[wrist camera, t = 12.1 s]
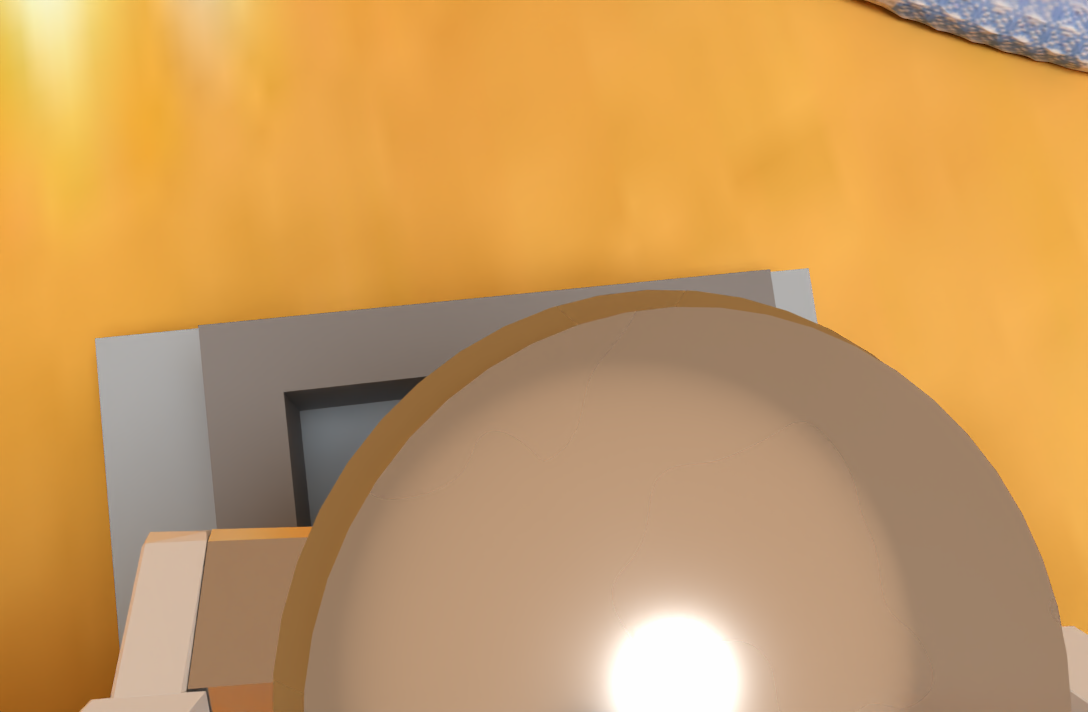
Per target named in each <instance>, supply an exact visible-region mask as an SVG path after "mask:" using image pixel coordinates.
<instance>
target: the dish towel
mask: <svg viewBox="0 0 1088 712" xmlns="http://www.w3.org/2000/svg"><path fill="white" fill-rule="evenodd" d="M865 1H868V2H871V3H874V4H877V5H880V6H883V7H884V8H886V9H888V10H890V11H891V12H893V13H895V14H897V15H898V16H900V17H902V18H905V19H910V20H915V21H918V22H920V23H923V24H926V25H928V26H930V27H932V28H934V29H936V30H939V31H945V32H949V33H952V34H955V35H957V36H960V37H963V38H965V39H967V40H969V41H972V42H976V43H982V44H986V45H989V46H991V47H994V48H996V49H999V50H1001V51H1004V52H1009V53H1014V54H1019V55H1024V56H1027V57H1029V58H1031V59H1033V60H1035V61H1044V62H1051V63H1054V64H1057V65H1060V66H1063V67H1066V68H1070V69H1074V70H1079V71H1083V72H1088V0H865Z"/></svg>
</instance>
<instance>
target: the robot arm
mask: <svg viewBox="0 0 1088 712" xmlns="http://www.w3.org/2000/svg"><path fill="white" fill-rule="evenodd" d="M311 529H312V527H279V528H240V529H212V530H202V531H165V532H150V533H149V535H148V537H147V538H146V540H145V542H144V544H143V546H142V548H141V553H140V558H139V562H138V567H137V572H136V577H135V581H134V586H133V591H132V596H131V601H130V605H129V610H128V615H127V620H126V625H125V629H124V634H123V639H122V644H121V648H120V653H119V658H118V663H117V668H116V672H115V677H114V682H113V687H112V692H111V696H110V698H100V699H91V700H90V701H89V702H88V703H87V704H86V705H85V706H84V707H83V708H82V709H81V710H80V711H79V712H273V672H274V666H275V659H276V652H277V645H278V639H279V632H280V625H281V619H282V614H283V611H284V607H285V604H286V600H287V597H288V593H289V589H290V586H291V582H292V579H293V575H294V572H295V568H296V565H297V561H298V559H299V557H300V554H301V552H302V550H303V547H304V545H305V543H306V540H307V538H308V536H309V533H310V531H311ZM1062 632H1063V637H1064V642H1065V647H1066V652H1067V659H1068V672H1069V684H1070V697H1071V712H1088V635H1087V634H1085V633H1084V632H1082V631H1081V630H1079V629H1077V628H1076V627H1074V626H1062Z"/></svg>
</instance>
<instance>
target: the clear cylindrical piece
mask: <svg viewBox="0 0 1088 712" xmlns="http://www.w3.org/2000/svg"><path fill="white" fill-rule="evenodd" d="M273 712H1071V697H1070V684H1069V672H1068V659H1067V652H1066V647H1065V642H1064V637H1063V632H1062V626H1061V621H1060V616H1059V611H1058V606H1057V603H1056V600H1055V597H1054V593H1053V590H1052V587H1051V584H1050V581H1049V578H1048V575H1047V572H1046V568H1045V565H1044V562H1043V559H1042V557H1041V554H1040V552H1039V550H1038V548H1037V546H1036V543H1035V541H1034V539H1033V537H1032V535H1031V532H1030V530H1029V528H1028V526H1027V523H1026V521H1025V519H1024V517H1023V515H1022V513H1021V511H1020V509H1019V508H1018V506H1017V504H1016V503H1015V501H1014V499H1013V498H1012V496H1011V494H1010V493H1009V491H1008V489H1007V488H1006V486H1005V484H1004V483H1003V481H1002V479H1001V478H1000V476H999V474H998V473H997V471H996V470H995V469H994V468H993V466H992V465H991V464H990V462H989V461H988V460H987V458H986V457H985V456H984V455H983V453H982V452H981V451H980V449H979V448H978V447H977V446H976V444H975V443H974V442H973V440H972V439H971V438H970V437H969V435H968V434H967V433H966V432H965V431H964V430H963V429H962V428H961V427H960V426H959V425H958V424H957V423H956V422H955V421H954V420H953V419H952V418H951V417H950V416H949V415H948V414H947V413H946V412H945V411H944V410H943V409H942V408H941V407H940V406H939V405H938V404H937V403H936V402H935V401H934V400H933V399H932V398H931V397H929V396H928V395H927V394H925V393H924V392H923V391H922V390H920V389H919V388H918V387H917V386H915V385H914V384H913V383H911V382H910V381H909V380H908V379H906V378H905V377H904V376H902V375H901V374H900V373H899V372H897V371H896V370H894V369H893V368H891V367H889V366H888V365H886V364H884V363H883V362H881V361H880V360H879V359H877V358H876V357H875V356H874V355H872V354H871V353H869V352H867V351H866V350H864V349H862V348H861V347H859V346H857V345H856V344H854V343H852V342H851V341H849V340H847V339H846V338H844V337H842V336H841V335H839V334H837V333H836V332H834V331H832V330H830V329H828V328H826V327H823V326H821V325H819V324H817V323H814V322H812V321H810V320H807V319H805V318H803V317H801V316H798V315H796V314H794V313H791V312H789V311H786V310H783V309H779V308H776V307H772V306H769V305H765V304H762V303H758V302H755V301H752V300H748V299H745V298H740V297H734V296H727V295H720V294H714V293H707V292H701V291H685V290H641V291H633V292H624V293H616V294H607V295H599V296H595V297H591V298H587V299H583V300H579V301H575V302H571V303H567V304H563V305H559V306H555V307H551V308H549V309H546V310H544V311H541V312H539V313H536V314H534V315H531V316H529V317H526V318H524V319H521V320H519V321H517V322H514V323H512V324H509V325H507V326H504V327H502V328H501V329H499V330H497V331H495V332H494V333H492V334H490V335H488V336H487V337H485V338H483V339H481V340H479V341H478V342H476V343H474V344H472V345H471V346H469V347H467V348H465V349H464V350H462V351H460V352H459V353H457V354H456V355H455V356H453V357H452V358H451V359H450V360H448V361H447V362H446V363H444V364H443V365H442V366H440V367H439V368H438V369H436V370H435V371H434V372H432V373H431V374H430V375H428V376H427V377H426V378H424V379H423V380H422V381H420V382H419V383H418V384H417V385H416V386H415V387H414V388H413V389H412V390H411V391H410V392H409V393H408V394H407V395H406V396H405V397H404V398H403V399H402V400H401V401H400V402H399V403H398V404H397V405H396V406H395V407H394V408H393V409H392V410H391V411H390V412H389V413H388V414H387V415H385V416H384V417H383V418H382V419H381V421H380V422H379V423H378V424H377V426H376V427H375V428H374V429H373V431H372V432H371V433H370V435H369V436H368V437H367V438H366V440H365V441H364V442H363V444H362V445H361V446H360V447H359V449H358V450H357V451H356V453H355V454H354V455H353V456H352V458H351V459H350V460H349V462H348V463H347V464H346V466H345V468H344V470H343V471H342V473H341V475H340V476H339V478H338V480H337V481H336V483H335V485H334V486H333V488H332V490H331V492H330V493H329V495H328V497H327V498H326V500H325V502H324V503H323V505H322V507H321V509H320V510H319V512H318V515H317V517H316V519H315V522H314V524H313V526H312V529H311V531H310V533H309V536H308V538H307V540H306V543H305V545H304V547H303V550H302V552H301V554H300V557H299V559H298V561H297V565H296V568H295V572H294V575H293V579H292V582H291V586H290V589H289V593H288V597H287V600H286V604H285V607H284V611H283V614H282V619H281V625H280V632H279V639H278V645H277V652H276V659H275V666H274V672H273Z"/></svg>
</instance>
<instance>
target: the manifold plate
mask: <svg viewBox="0 0 1088 712" xmlns="http://www.w3.org/2000/svg"><path fill="white" fill-rule="evenodd" d="M641 290H685V291H701V292H707V293H714V294H720V295H727V296H734V297H740V298H745V299H748V300H752V301H755V302H758V303H762V304H765V305H769V306H772V307H776V308H779V309H783V310H786V311H789V312H791V313H794V314H796V315H798V316H801V317H803V318H805V319H807V320H810V321H812V322H814V323H817V318H816V312H815V305H814V299H813V293H812V287H811V281H810V275H809V268H807V269H797V270H786V271H776V272H770V270H760V271H749V272H739V273H729V274H719V275H709V276H698V277H688V278H678V279H668V280H658V281H647V282H637V283H627V284H617V285H606V286H596V287H586V288H576V289H566V290H555V291H545V292H535V293H525V294H515V295H504V296H494V297H484V298H474V299H464V300H453V301H443V302H433V303H423V304H412V305H402V306H392V307H382V308H372V309H361V310H351V311H341V312H331V313H321V314H310V315H300V316H290V317H280V318H270V319H259V320H249V321H239V322H229V323H218V324H208V325H198V328H197V329H187V330H177V331H167V332H156V333H146V334H136V335H126V336H116V337H106V338H95V343H96V356H97V369H98V381H99V394H100V406H101V419H102V431H103V444H104V457H105V469H106V482H107V494H108V507H109V520H110V532H111V545H112V557H113V570H114V583H115V595H116V608H117V620H118V633H119V646H120V648H121V644H122V639H123V634H124V629H125V625H126V620H127V615H128V610H129V605H130V601H131V596H132V591H133V586H134V581H135V577H136V572H137V567H138V562H139V558H140V553H141V548H142V546H143V544H144V542H145V540H146V538H147V537H148V535H149V533H150V532H165V531H202V530H212V529H240V528H279V527H312V526H313V524H314V522H315V519H316V517H317V515H318V512H319V510H320V509H321V507H322V505H323V503H324V502H325V500H326V498H327V497H328V495H329V493H330V492H331V490H332V488H333V486H334V485H335V483H336V481H337V480H338V478H339V476H340V475H341V473H342V471H343V470H344V468H345V466H346V464H347V463H348V462H349V460H350V459H351V458H352V456H353V455H354V454H355V453H356V451H357V450H358V449H359V447H360V446H361V445H362V444H363V442H364V441H365V440H366V438H367V437H368V436H369V435H370V433H371V432H372V431H373V429H374V428H375V427H376V426H377V424H378V423H379V422H380V421H381V419H382V418H383V417H384V416H385V415H387V414H388V413H389V412H390V411H391V410H392V409H393V408H394V407H395V406H396V405H397V404H398V403H399V402H400V401H401V400H402V399H403V398H404V397H405V396H406V395H407V394H408V393H409V392H410V391H411V390H412V389H413V388H414V387H415V386H416V385H417V384H418V383H419V382H420V381H422V380H423V379H424V378H426V377H427V376H428V375H430V374H431V373H432V372H434V371H435V370H436V369H438V368H439V367H440V366H442V365H443V364H444V363H446V362H447V361H448V360H450V359H451V358H452V357H453V356H455V355H456V354H457V353H459V352H460V351H462V350H464V349H465V348H467V347H469V346H471V345H472V344H474V343H476V342H478V341H479V340H481V339H483V338H485V337H487V336H488V335H490V334H492V333H494V332H495V331H497V330H499V329H501V328H502V327H504V326H507V325H509V324H512V323H514V322H517V321H519V320H521V319H524V318H526V317H529V316H531V315H534V314H536V313H539V312H541V311H544V310H546V309H549V308H551V307H555V306H559V305H563V304H567V303H571V302H575V301H579V300H583V299H587V298H591V297H595V296H599V295H607V294H616V293H624V292H633V291H641Z"/></svg>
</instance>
